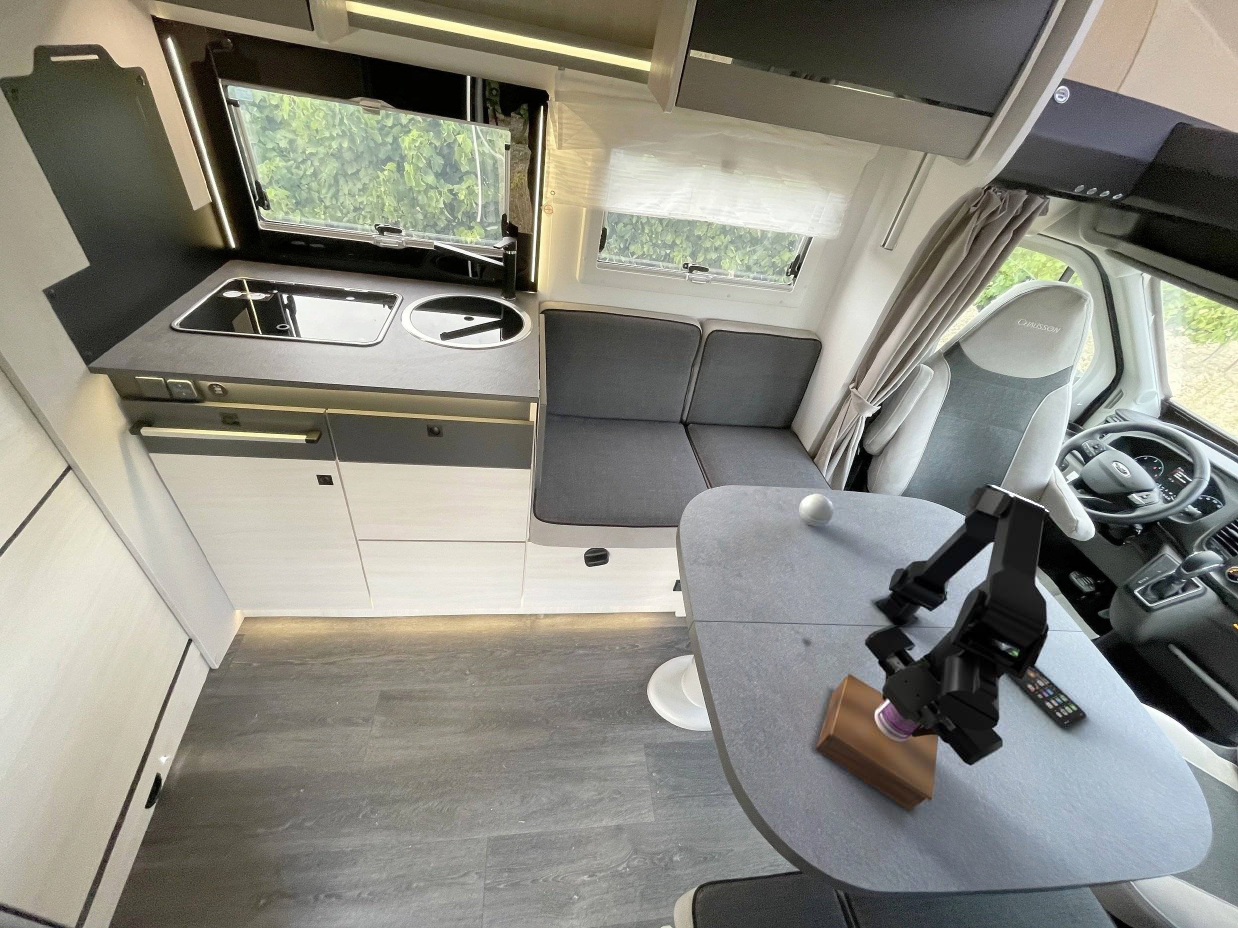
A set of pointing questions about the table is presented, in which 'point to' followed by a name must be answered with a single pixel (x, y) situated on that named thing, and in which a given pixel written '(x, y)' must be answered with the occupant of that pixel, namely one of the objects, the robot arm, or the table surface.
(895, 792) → the chest
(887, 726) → the pill bottle
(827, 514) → the bath bomb
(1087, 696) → the table surface
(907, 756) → the lid
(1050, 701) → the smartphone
